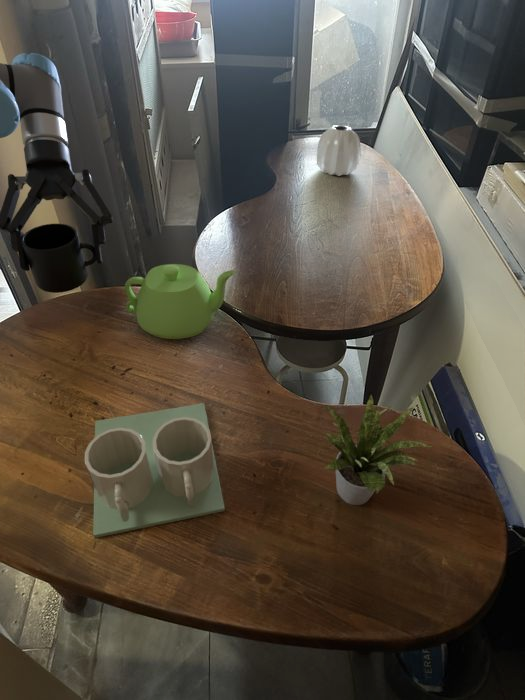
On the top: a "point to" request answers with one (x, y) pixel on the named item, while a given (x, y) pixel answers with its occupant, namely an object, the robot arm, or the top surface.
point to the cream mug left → (111, 453)
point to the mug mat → (155, 478)
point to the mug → (56, 257)
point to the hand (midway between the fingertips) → (62, 265)
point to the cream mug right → (180, 440)
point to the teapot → (175, 301)
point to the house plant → (367, 455)
